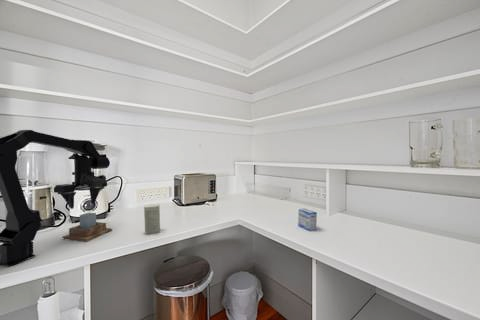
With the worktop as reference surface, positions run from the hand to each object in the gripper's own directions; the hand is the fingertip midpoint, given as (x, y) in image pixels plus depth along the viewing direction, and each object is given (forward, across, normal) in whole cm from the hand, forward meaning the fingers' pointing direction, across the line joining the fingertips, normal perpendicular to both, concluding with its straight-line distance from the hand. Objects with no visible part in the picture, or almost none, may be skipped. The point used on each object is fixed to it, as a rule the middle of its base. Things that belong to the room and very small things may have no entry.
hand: (83, 205), depth 84 cm
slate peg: (+12, +1, -1) cm, 12 cm away
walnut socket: (+13, +1, -1) cm, 13 cm away
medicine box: (+13, +32, -96) cm, 102 cm away
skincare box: (+13, +10, -26) cm, 31 cm away
